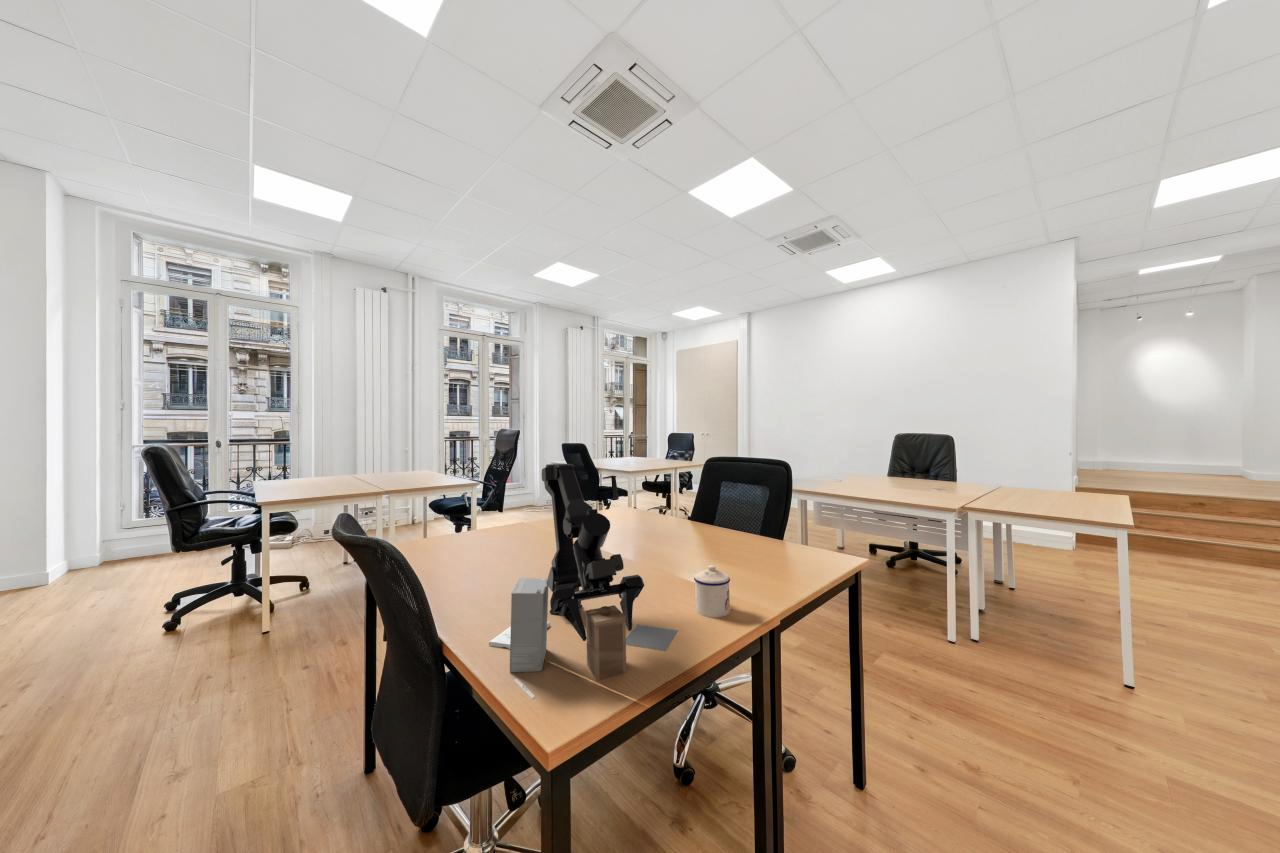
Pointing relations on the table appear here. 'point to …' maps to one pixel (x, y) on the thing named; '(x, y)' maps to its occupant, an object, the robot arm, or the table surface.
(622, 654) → the brown box
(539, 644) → the skincare box
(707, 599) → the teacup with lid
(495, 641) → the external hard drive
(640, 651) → the table surface
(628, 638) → the rubber coaster
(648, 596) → the table surface
